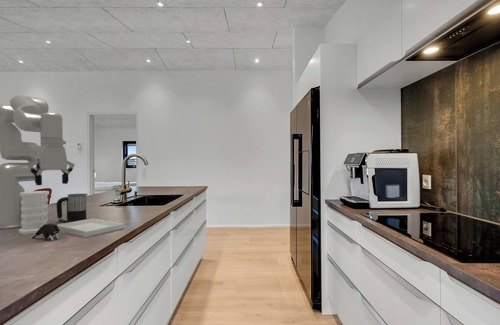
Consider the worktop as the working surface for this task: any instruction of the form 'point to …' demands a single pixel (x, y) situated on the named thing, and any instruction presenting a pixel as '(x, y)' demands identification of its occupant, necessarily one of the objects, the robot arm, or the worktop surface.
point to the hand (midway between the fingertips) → (52, 184)
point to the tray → (90, 227)
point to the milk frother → (73, 208)
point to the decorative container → (33, 211)
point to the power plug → (48, 231)
